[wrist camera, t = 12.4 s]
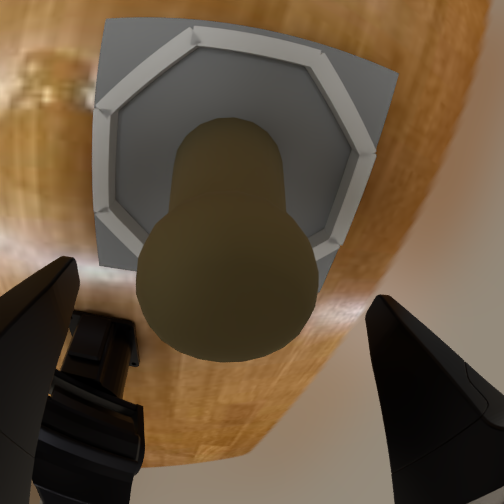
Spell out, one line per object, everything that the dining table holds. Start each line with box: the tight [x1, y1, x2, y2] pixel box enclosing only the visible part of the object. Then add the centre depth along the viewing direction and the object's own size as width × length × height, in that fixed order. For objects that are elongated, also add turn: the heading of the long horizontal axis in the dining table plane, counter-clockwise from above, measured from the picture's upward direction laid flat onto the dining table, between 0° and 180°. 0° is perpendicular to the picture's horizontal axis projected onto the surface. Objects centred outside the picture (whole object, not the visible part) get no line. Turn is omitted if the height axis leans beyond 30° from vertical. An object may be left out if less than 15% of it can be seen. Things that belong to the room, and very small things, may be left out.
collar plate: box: [92, 17, 399, 292], centre depth 16 cm, size 16×16×2 cm
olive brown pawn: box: [136, 117, 319, 362], centre depth 12 cm, size 6×6×11 cm
